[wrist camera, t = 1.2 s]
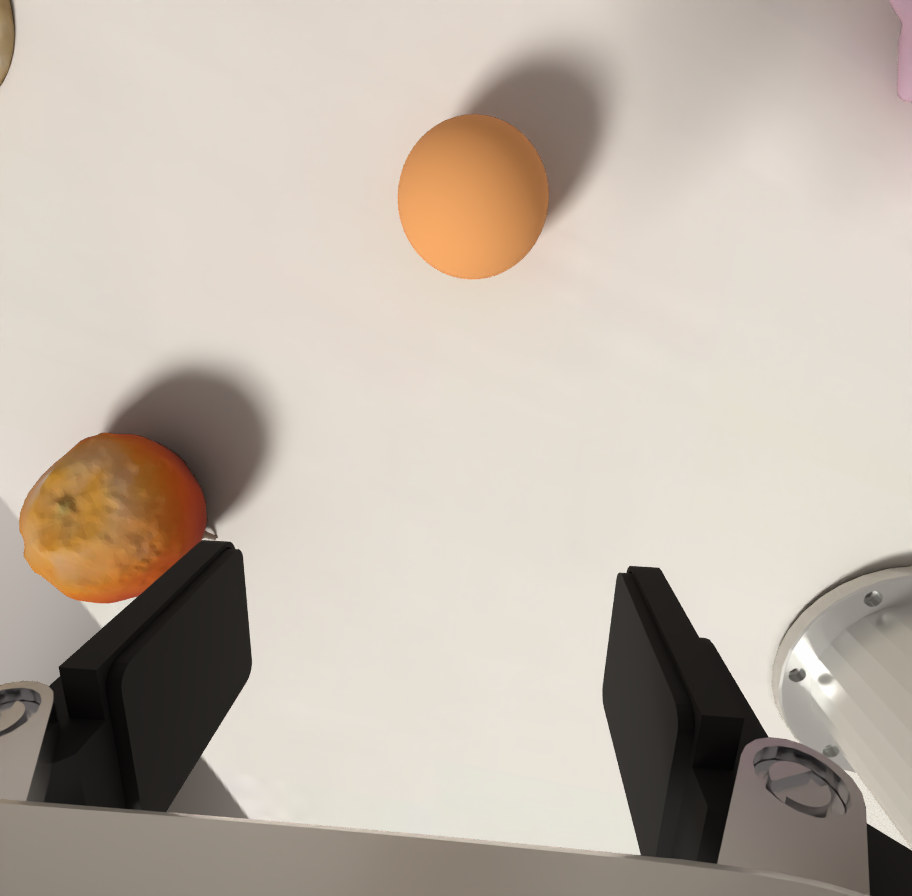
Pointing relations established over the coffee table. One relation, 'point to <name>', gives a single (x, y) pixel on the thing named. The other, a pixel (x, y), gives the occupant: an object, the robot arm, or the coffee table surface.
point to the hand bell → (5, 37)
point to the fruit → (112, 517)
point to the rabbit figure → (904, 49)
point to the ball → (473, 196)
